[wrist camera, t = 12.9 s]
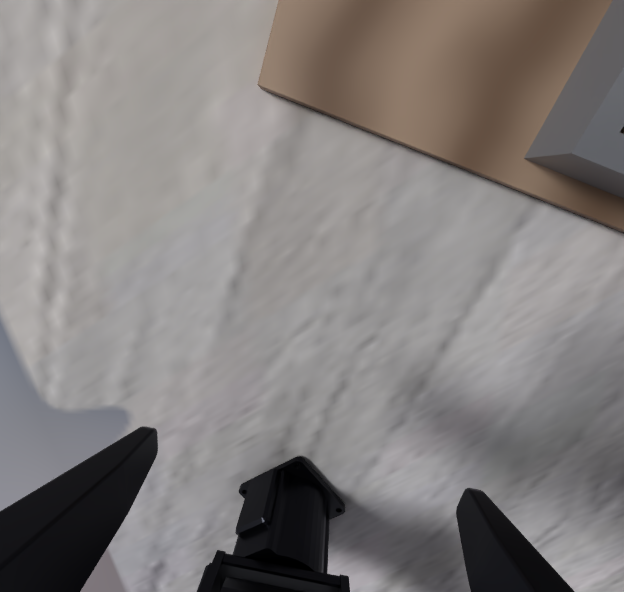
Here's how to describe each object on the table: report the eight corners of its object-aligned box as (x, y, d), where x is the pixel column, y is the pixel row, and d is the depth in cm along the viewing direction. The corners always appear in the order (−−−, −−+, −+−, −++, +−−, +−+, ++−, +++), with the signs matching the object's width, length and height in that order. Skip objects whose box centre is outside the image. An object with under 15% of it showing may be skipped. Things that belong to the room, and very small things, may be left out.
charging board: (892, -15, 13) (925, -27, 12) (675, 253, 17) (690, 256, 17) (349, -257, 12) (350, -286, 11) (261, 88, 16) (257, 84, 16)
